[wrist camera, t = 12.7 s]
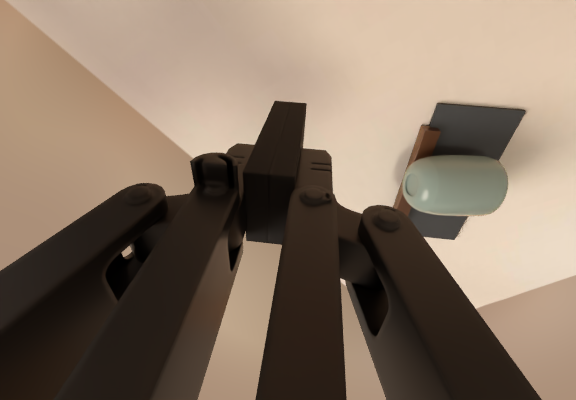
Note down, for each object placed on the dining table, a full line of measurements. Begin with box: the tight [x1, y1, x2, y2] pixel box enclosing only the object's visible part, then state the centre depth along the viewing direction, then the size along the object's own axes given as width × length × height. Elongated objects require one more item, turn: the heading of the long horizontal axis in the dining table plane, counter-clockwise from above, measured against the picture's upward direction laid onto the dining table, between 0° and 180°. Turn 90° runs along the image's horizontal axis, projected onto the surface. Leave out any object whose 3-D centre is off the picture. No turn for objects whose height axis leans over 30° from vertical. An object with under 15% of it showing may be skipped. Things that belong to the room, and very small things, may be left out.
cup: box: [402, 155, 508, 216], centre depth 36 cm, size 8×8×10 cm
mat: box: [408, 103, 526, 240], centre depth 42 cm, size 10×22×1 cm, turn 177°
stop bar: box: [393, 125, 441, 216], centre depth 41 cm, size 2×16×2 cm, turn 177°
